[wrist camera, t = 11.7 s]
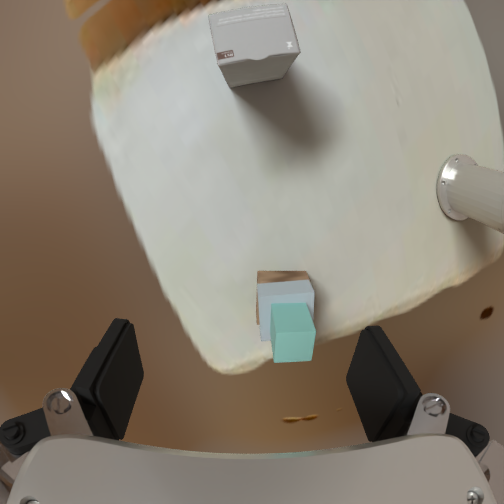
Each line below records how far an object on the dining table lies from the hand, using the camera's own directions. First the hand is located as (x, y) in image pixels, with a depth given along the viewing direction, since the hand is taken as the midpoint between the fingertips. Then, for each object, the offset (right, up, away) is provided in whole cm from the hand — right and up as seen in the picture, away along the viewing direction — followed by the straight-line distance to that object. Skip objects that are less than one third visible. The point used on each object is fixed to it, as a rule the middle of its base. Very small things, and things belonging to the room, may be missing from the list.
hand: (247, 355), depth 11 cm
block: (+5, -6, +31) cm, 32 cm away
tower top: (+5, -4, +35) cm, 35 cm away
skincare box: (0, +31, +25) cm, 40 cm away
